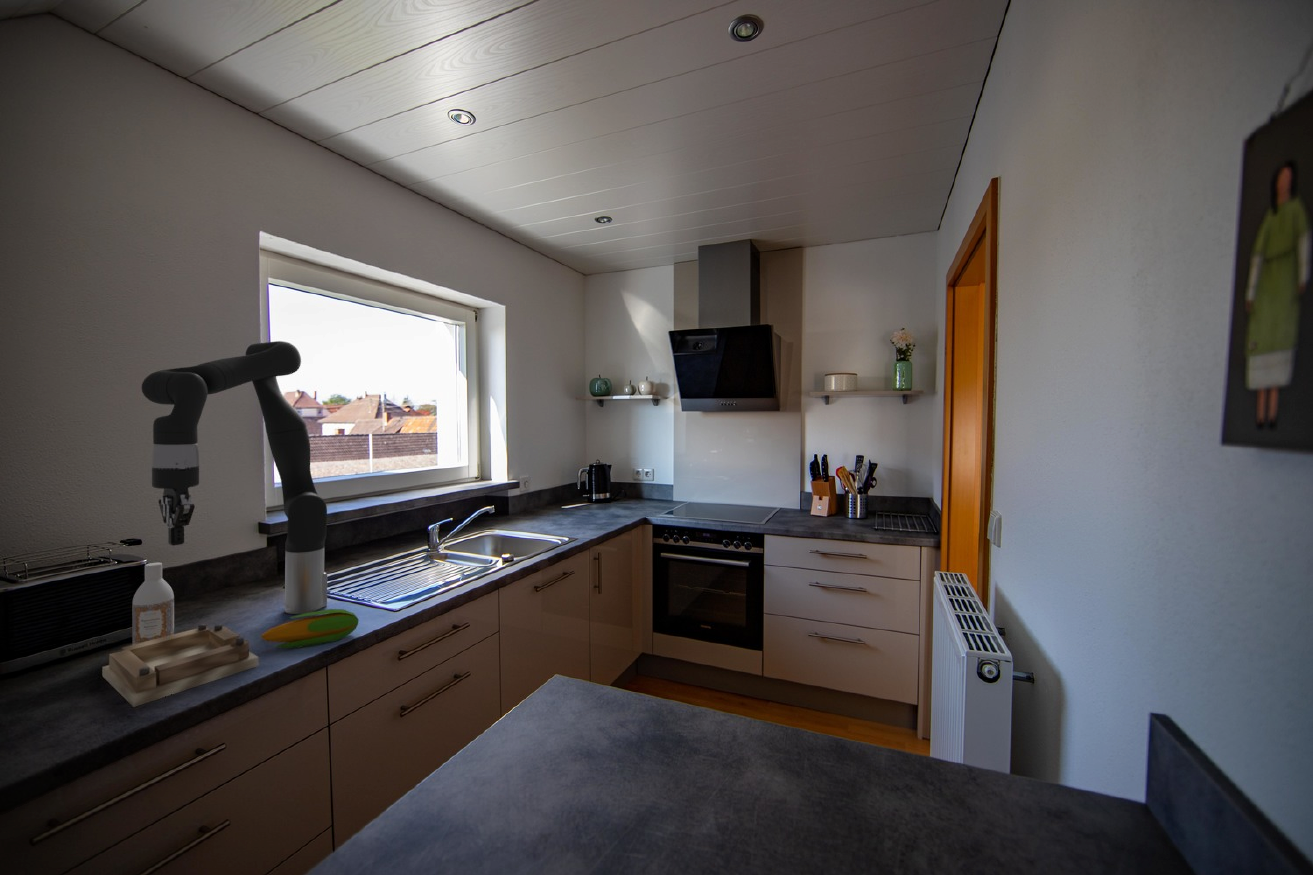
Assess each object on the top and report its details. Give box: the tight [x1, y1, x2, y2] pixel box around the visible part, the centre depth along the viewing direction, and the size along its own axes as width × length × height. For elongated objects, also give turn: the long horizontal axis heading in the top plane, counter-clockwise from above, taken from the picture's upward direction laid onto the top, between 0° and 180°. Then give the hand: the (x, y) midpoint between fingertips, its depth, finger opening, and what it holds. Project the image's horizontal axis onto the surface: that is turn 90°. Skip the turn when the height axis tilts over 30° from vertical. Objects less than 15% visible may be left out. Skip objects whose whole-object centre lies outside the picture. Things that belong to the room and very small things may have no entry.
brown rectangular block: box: [155, 636, 250, 685], centre depth 109 cm, size 15×3×4 cm, turn 149°
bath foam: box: [131, 562, 175, 645], centre depth 121 cm, size 7×7×20 cm
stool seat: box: [101, 623, 259, 708], centre depth 112 cm, size 20×20×6 cm
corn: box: [260, 608, 359, 649], centre depth 128 cm, size 7×8×20 cm
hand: (176, 544), depth 113 cm, fingers closed
